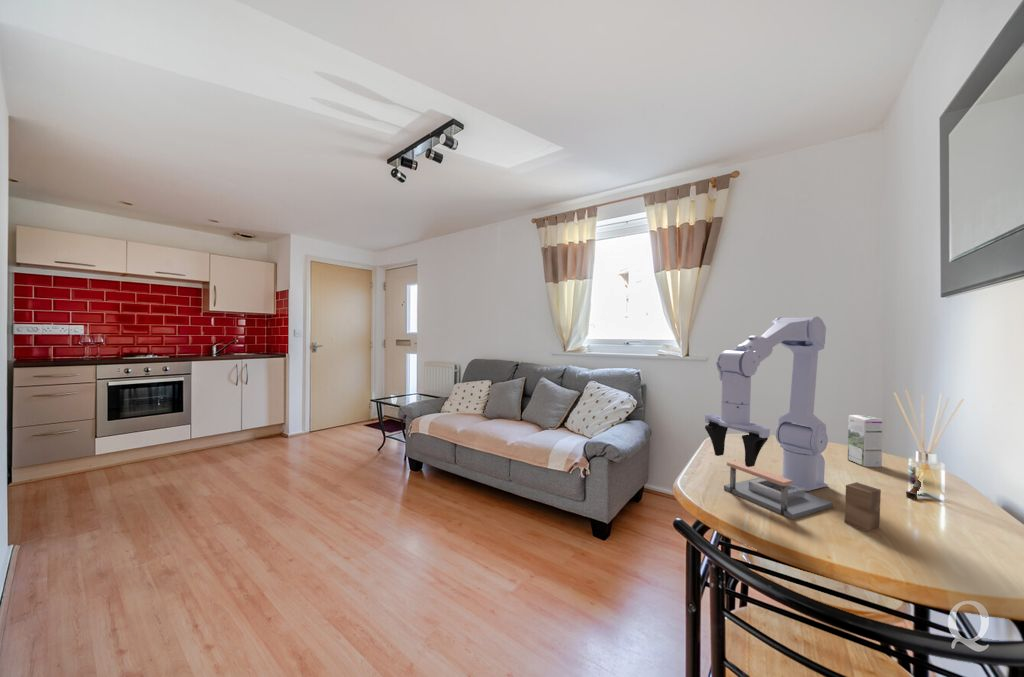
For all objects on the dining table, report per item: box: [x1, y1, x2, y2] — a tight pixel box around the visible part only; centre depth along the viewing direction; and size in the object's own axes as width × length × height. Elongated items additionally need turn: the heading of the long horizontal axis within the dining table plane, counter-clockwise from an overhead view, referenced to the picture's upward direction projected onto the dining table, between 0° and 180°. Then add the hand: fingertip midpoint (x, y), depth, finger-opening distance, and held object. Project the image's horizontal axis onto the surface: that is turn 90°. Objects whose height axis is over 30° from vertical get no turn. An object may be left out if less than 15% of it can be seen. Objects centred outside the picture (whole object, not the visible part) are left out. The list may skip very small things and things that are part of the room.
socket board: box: [723, 460, 834, 520], centre depth 90 cm, size 16×16×8 cm
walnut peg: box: [844, 481, 882, 533], centre depth 77 cm, size 4×4×8 cm
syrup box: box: [847, 414, 884, 468], centre depth 114 cm, size 6×6×14 cm
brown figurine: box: [905, 476, 921, 501], centre depth 92 cm, size 2×8×4 cm, turn 119°
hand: (734, 460), depth 86 cm, fingers open, 7 cm apart
